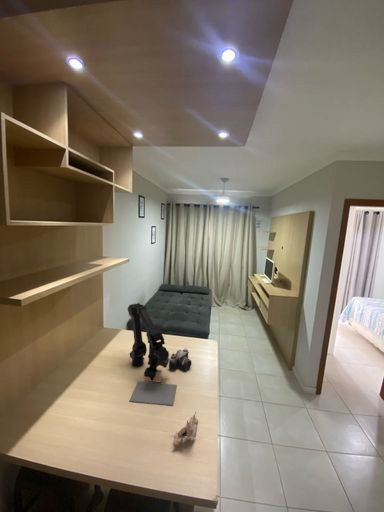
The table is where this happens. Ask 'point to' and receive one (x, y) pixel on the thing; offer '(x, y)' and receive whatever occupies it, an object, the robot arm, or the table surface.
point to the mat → (154, 393)
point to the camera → (179, 360)
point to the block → (157, 378)
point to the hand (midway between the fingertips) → (153, 378)
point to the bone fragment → (186, 431)
